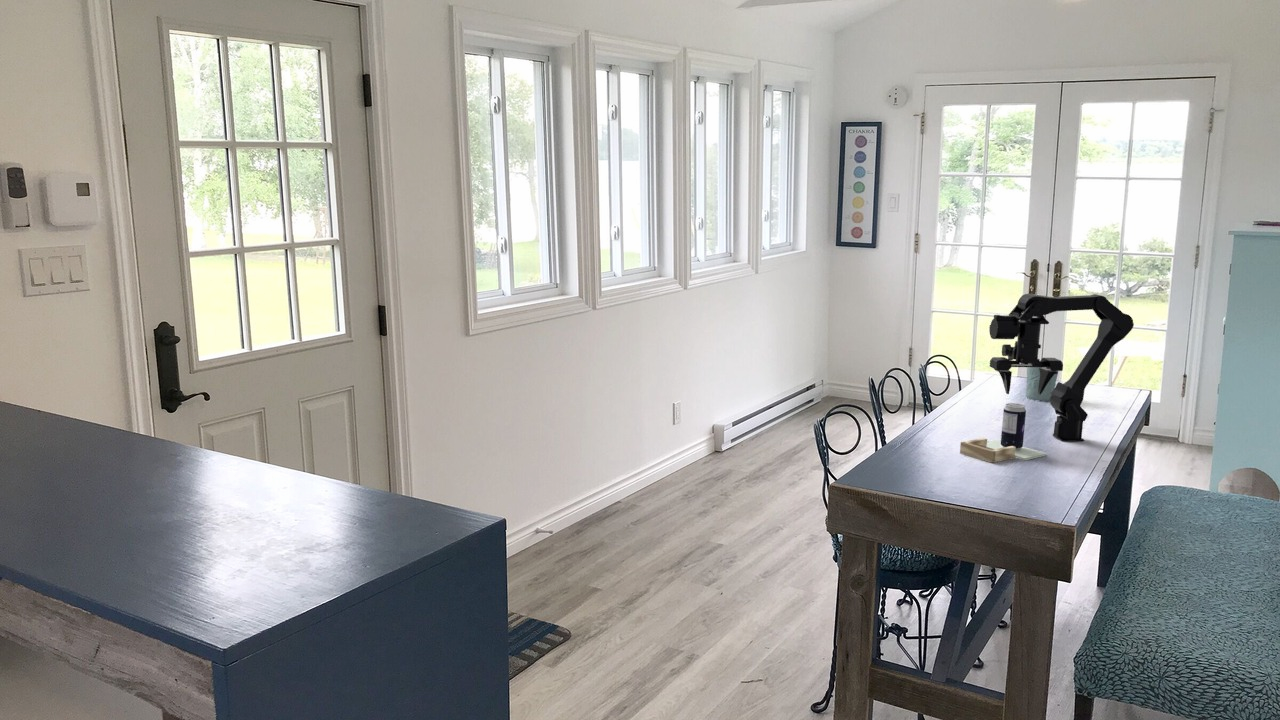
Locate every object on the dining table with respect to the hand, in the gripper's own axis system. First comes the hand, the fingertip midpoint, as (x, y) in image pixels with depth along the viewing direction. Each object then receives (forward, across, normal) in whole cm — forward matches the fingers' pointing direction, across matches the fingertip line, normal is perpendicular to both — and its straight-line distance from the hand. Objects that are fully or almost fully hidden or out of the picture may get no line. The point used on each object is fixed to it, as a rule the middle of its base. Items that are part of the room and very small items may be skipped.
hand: (1023, 393), depth 277 cm
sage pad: (+13, +8, +12) cm, 20 cm away
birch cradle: (+13, +15, +17) cm, 26 cm away
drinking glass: (+13, -28, -51) cm, 60 cm away
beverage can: (+13, +7, +12) cm, 19 cm away
